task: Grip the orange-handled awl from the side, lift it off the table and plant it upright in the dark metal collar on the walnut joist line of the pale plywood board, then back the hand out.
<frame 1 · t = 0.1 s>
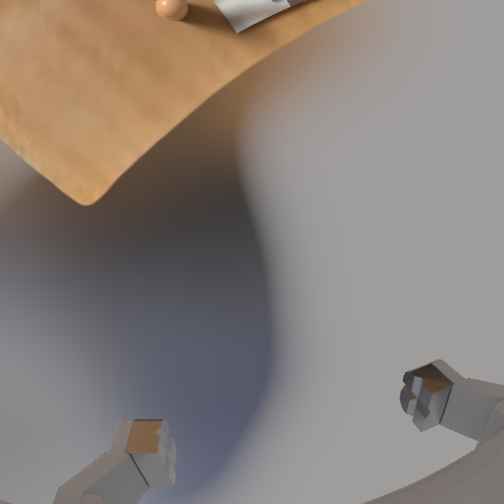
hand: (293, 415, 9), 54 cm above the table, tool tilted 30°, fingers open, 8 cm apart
awl: (177, 10, 39), on the table
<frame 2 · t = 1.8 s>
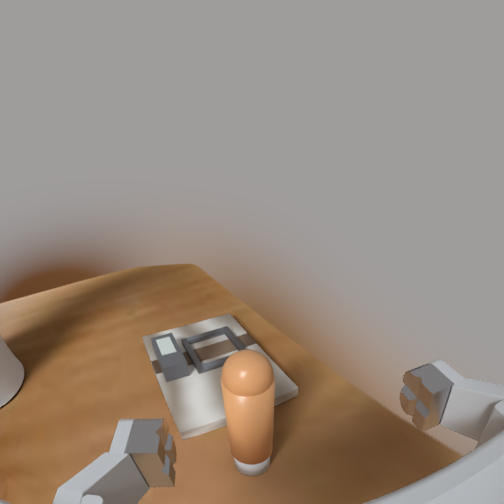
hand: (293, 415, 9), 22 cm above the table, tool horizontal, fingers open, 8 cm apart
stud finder: (170, 362, 40), point 2 cm above the table, touching subfloor board
awl: (252, 462, 27), on the table
subfloor board: (210, 369, 41), on the table
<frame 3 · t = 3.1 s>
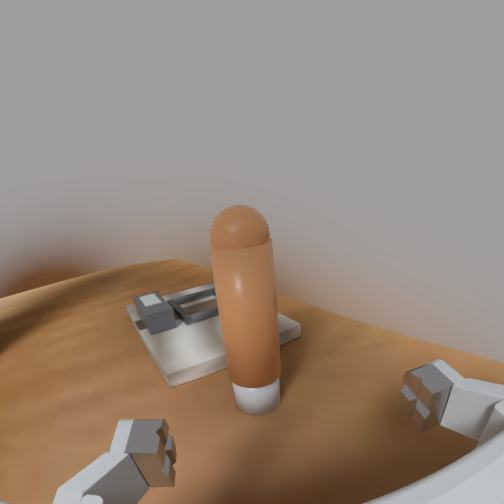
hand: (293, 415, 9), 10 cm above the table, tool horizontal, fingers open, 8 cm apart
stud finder: (155, 320, 36), point 2 cm above the table, touching subfloor board
awl: (258, 400, 23), on the table
subfloor board: (200, 326, 38), on the table
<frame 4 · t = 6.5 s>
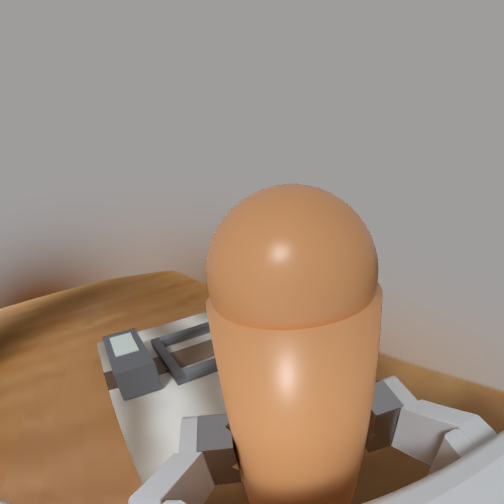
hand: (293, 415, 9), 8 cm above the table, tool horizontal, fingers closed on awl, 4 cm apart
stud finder: (133, 372, 23), point 2 cm above the table, touching subfloor board
subfloor board: (199, 381, 24), on the table
when the fingers open (11 cm above the table, at t = 11.0 s): awl stays where it is, resting on subfloor board.
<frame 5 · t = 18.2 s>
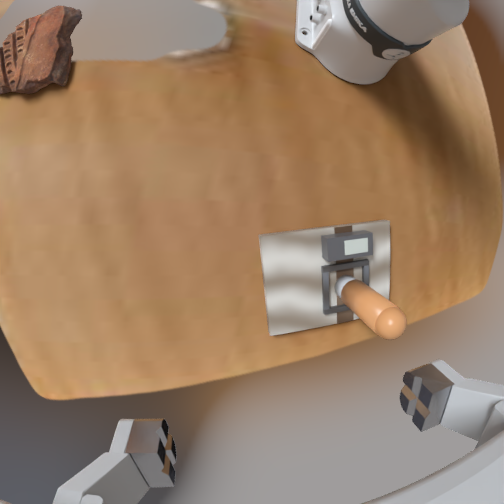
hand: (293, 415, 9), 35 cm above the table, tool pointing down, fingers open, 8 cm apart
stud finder: (344, 243, 44), point 2 cm above the table, touching subfloor board
awl: (345, 286, 45), point 2 cm above the table, touching subfloor board
pottery shard: (36, 57, 33), on the table
subfloor board: (329, 275, 46), on the table
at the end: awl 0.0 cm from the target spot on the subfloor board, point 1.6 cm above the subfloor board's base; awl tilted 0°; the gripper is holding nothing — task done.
